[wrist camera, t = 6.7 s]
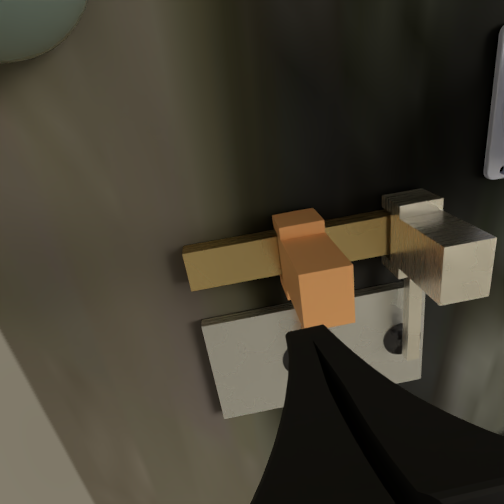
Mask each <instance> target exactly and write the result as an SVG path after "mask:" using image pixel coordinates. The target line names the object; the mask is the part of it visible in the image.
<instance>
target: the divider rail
mask: <svg viewBox="0 0 504 504" xmlns="http://www.w3.org/2000/svg"><path fill="white" fill-rule="evenodd" d="M443 200H444V198H442V197H440V196H438V195H436V194H433V193H431V192H429V191H427V190H424V189H422V188H419V189H414V190H408V191H403V192H397V193H392V194H386V195H381V207H382V208H384V209H383V210H378V211H372V212H367V213H361V214H356V215H350V216H345V217H339V218H334V219H328V220H324V222H325V233H326V234H327V235H328V236H329V237H330V238H331V240H332V241H333V242H334V243H335V244H336V245H337V247H338V248H339V249H340V250H341V251H342V252H343V254H344V255H345V256H346V257H347V258H348V259H349V261H356V260H361V259H366V258H372V257H377V256H382V264H383V265H384V266H385V267H386V268H387V269H388V270H389V271H390V272H392V273H393V274H394V275H395V276H396V277H397V278H398V279H402V278H404V292H403V330H402V341H401V342H400V345H401V346H402V355H403V356H404V358H405V359H406V360H407V361H410V360H415V359H419V348H420V328H421V308H422V290H423V291H424V292H425V293H426V294H427V295H428V296H430V297H431V298H432V299H433V300H434V301H435V302H436V303H437V304H438V305H440V306H442V305H447V304H452V303H457V302H462V301H467V300H472V299H477V298H482V297H487V296H489V291H490V284H491V277H492V270H493V262H494V255H495V248H496V241H497V237H495V236H493V235H491V234H489V233H487V232H485V231H483V230H481V229H479V228H477V227H475V226H473V225H471V224H469V223H467V222H465V221H463V220H461V219H459V218H457V217H455V216H453V215H451V214H449V213H446V212H444V211H443ZM182 256H183V260H184V264H185V267H186V271H187V275H188V279H189V283H190V287H191V291H197V290H202V289H208V288H213V287H218V286H223V285H229V284H234V283H239V282H245V281H250V280H255V279H260V278H266V277H271V276H276V275H282V268H281V260H280V252H279V244H278V237H277V233H276V231H275V229H274V230H268V231H263V232H257V233H252V234H246V235H241V236H235V237H230V238H225V239H219V240H214V241H208V242H203V243H197V244H192V245H186V246H183V252H182Z"/></svg>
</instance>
